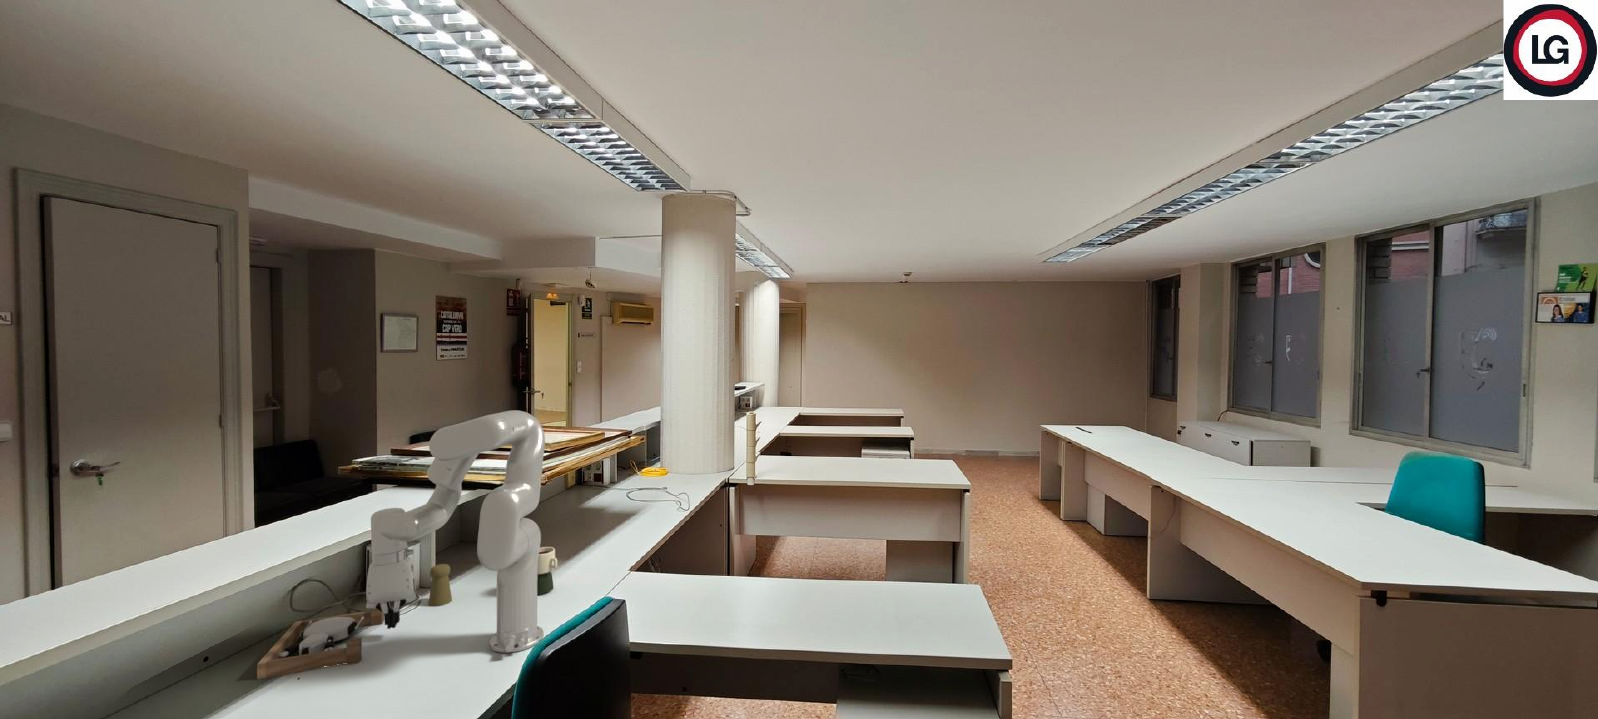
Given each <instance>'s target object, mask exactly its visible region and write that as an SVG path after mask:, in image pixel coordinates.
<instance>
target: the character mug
mask: <svg viewBox="0 0 1598 719" xmlns="http://www.w3.org/2000/svg"><path fill="white" fill-rule="evenodd" d="M557 568H558V558H556V549H555V547H552V546H542V547H541V546H540V549H539V556H538V571H537V595H541V594H544V593H545V594H546V593H548V592H550V591H553V590H554V580H553V574H552V571H554V570H556V569H557Z"/></svg>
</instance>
